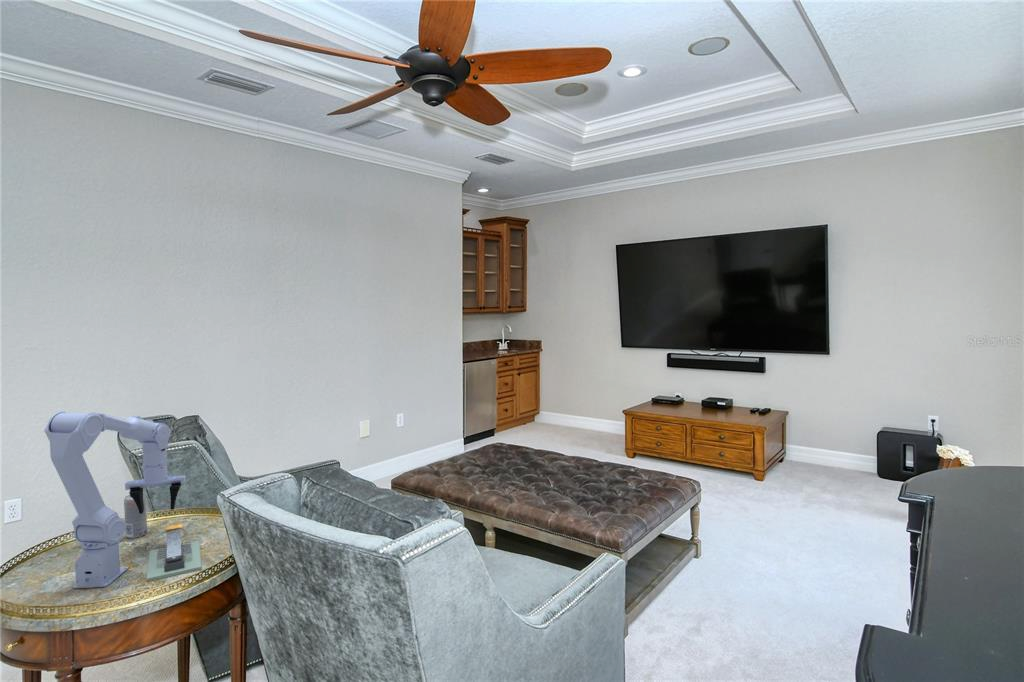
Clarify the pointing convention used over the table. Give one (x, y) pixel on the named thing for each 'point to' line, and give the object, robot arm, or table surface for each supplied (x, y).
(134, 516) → the energy drink
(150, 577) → the socket board
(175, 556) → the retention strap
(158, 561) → the heat sink
